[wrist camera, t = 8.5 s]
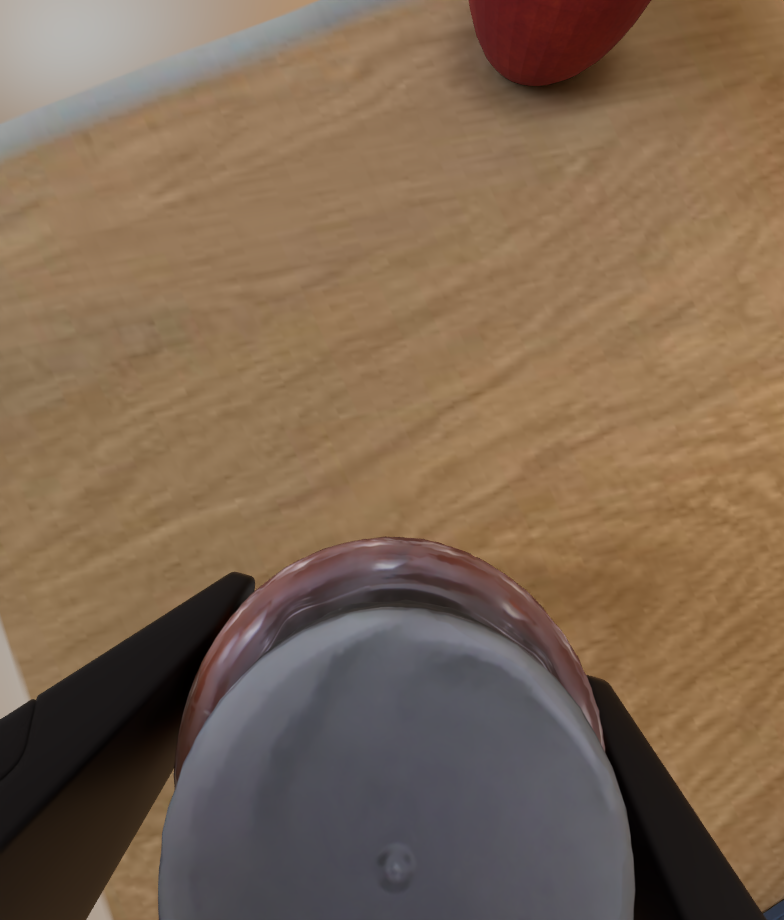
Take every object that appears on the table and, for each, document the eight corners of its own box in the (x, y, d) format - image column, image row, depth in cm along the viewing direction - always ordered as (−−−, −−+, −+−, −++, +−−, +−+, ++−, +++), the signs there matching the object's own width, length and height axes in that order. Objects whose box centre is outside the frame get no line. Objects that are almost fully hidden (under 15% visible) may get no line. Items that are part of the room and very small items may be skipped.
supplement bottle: (479, 782, 14) (809, 1467, 3) (273, 760, 14) (-99, 1363, 3) (489, 569, 16) (741, 538, 5) (302, 551, 16) (113, 476, 5)
